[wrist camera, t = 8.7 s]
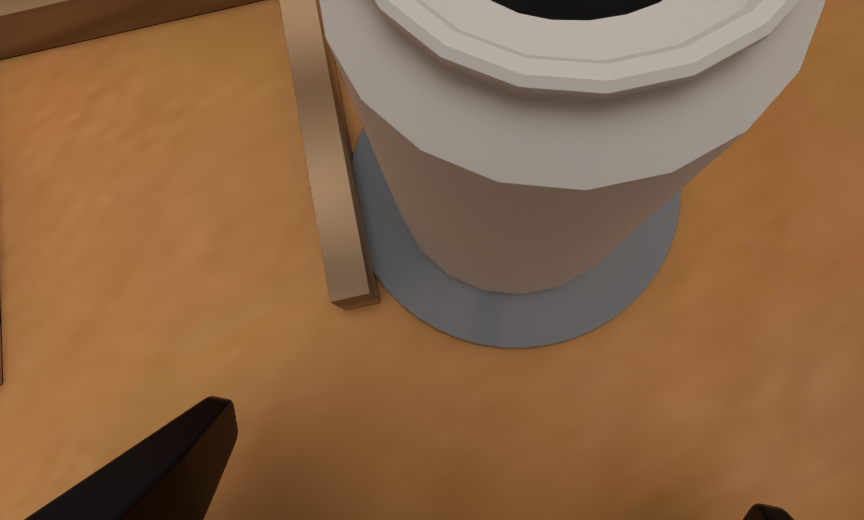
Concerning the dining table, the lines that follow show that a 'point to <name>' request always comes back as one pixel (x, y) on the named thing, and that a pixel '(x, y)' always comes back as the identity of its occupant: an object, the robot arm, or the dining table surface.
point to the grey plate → (496, 311)
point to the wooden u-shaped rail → (315, 95)
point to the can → (553, 116)
